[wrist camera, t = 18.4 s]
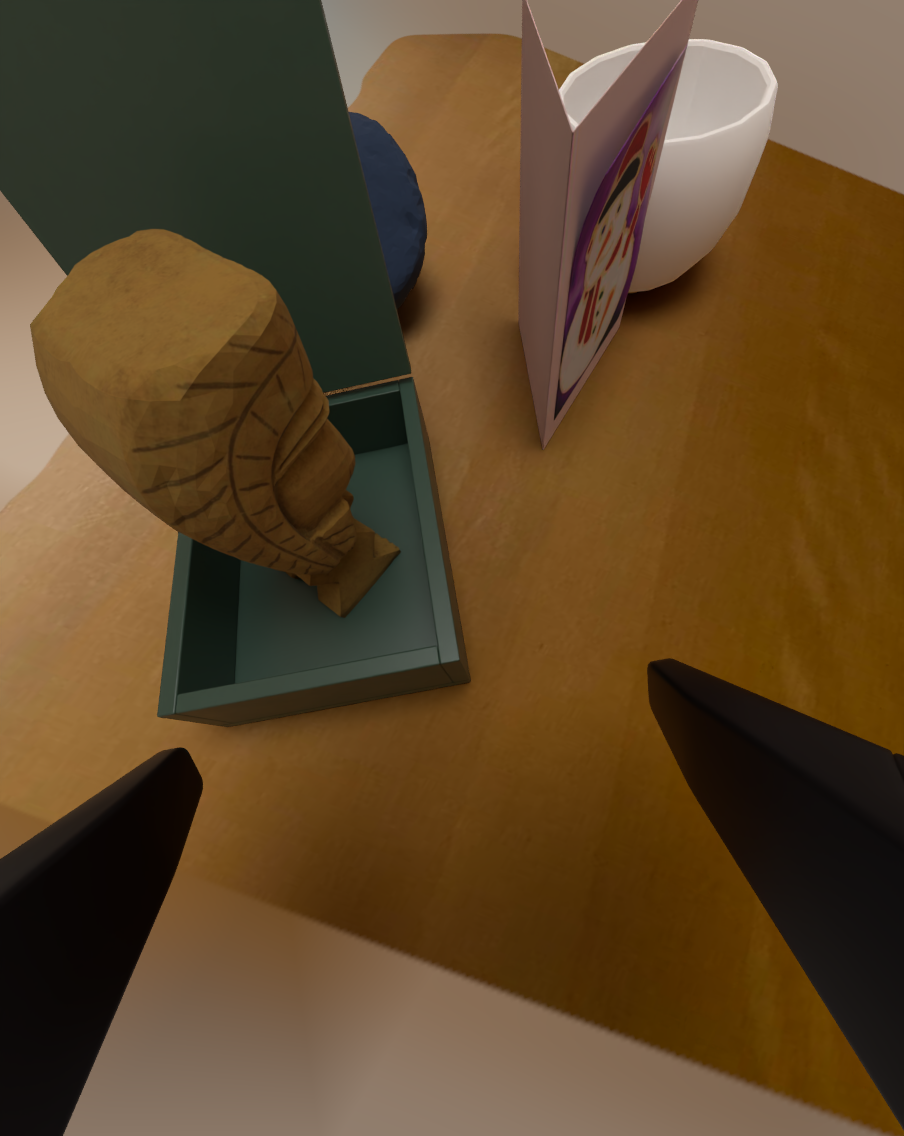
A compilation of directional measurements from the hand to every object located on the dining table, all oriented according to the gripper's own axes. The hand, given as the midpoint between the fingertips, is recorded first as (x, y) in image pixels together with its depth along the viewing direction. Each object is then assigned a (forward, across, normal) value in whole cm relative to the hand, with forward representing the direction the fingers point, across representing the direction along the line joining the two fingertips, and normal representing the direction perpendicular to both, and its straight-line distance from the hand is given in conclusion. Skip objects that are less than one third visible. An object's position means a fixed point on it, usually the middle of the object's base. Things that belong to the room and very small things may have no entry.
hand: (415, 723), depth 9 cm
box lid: (+14, +6, -14) cm, 21 cm away
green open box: (+17, +6, +2) cm, 18 cm away
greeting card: (+25, -9, -6) cm, 27 cm away
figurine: (+17, +6, +2) cm, 18 cm away
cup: (+31, -16, -12) cm, 37 cm away
